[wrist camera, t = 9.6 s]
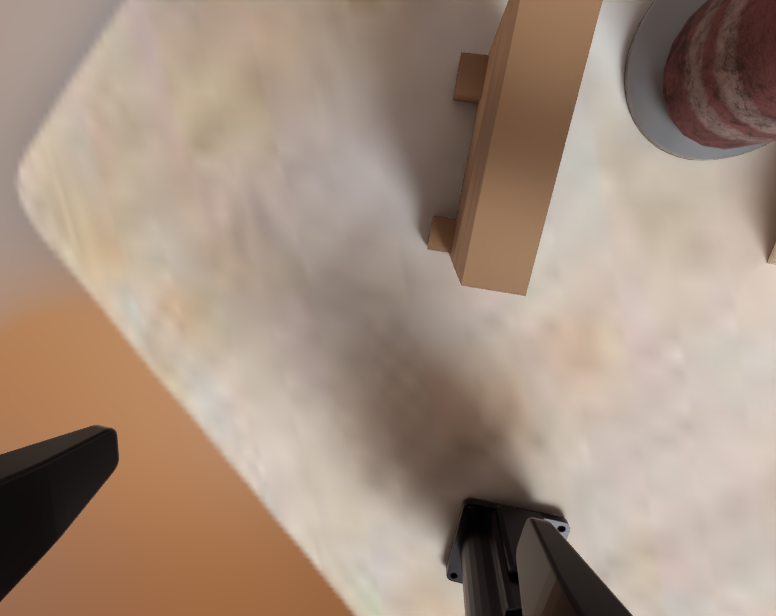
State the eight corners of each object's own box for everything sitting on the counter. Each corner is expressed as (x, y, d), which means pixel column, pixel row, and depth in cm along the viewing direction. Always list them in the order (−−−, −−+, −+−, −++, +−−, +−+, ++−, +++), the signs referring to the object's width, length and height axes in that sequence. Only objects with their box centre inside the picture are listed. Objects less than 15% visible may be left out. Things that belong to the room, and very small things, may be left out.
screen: (510, 264, 19) (564, 302, 11) (426, 250, 19) (423, 278, 11) (558, 67, 16) (670, -58, 9) (460, 56, 17) (485, -75, 9)
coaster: (782, 171, 16) (793, 170, 16) (601, 147, 17) (606, 146, 16) (874, -45, 14) (890, -54, 14) (661, -64, 15) (669, -73, 14)
